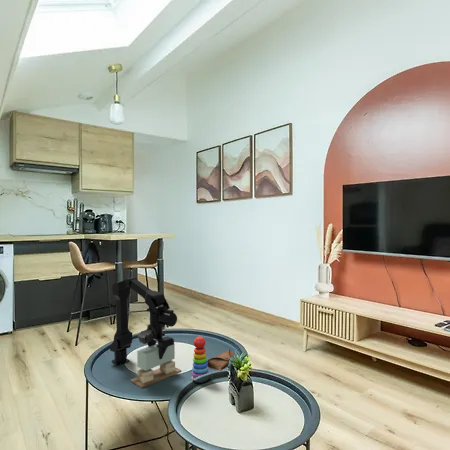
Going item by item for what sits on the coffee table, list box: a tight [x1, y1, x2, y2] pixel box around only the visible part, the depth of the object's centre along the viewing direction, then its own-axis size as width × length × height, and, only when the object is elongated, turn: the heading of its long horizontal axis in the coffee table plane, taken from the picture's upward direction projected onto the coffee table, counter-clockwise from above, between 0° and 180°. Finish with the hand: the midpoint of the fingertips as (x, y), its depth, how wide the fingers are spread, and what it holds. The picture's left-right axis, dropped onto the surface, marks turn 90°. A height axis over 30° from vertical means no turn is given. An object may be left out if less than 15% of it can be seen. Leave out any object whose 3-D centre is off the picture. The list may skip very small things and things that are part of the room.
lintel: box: [136, 343, 176, 371], centre depth 148 cm, size 6×16×7 cm, turn 141°
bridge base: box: [129, 359, 182, 389], centre depth 148 cm, size 9×21×5 cm, turn 137°
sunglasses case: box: [207, 349, 236, 371], centre depth 162 cm, size 18×7×7 cm
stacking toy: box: [191, 336, 210, 380], centre depth 144 cm, size 8×8×19 cm
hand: (156, 357), depth 148 cm, fingers closed on lintel, 6 cm apart
